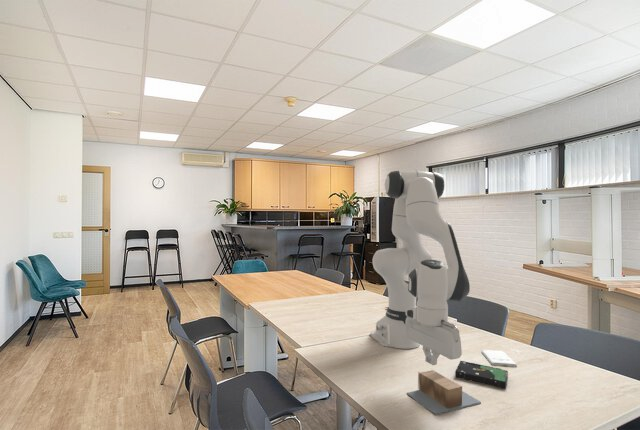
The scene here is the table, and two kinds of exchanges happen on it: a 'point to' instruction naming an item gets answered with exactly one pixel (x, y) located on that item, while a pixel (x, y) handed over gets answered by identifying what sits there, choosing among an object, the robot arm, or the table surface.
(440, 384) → the walnut block
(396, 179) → the robot arm
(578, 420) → the table surface
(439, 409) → the rubber mat
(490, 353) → the external hard drive
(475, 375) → the disk drive
